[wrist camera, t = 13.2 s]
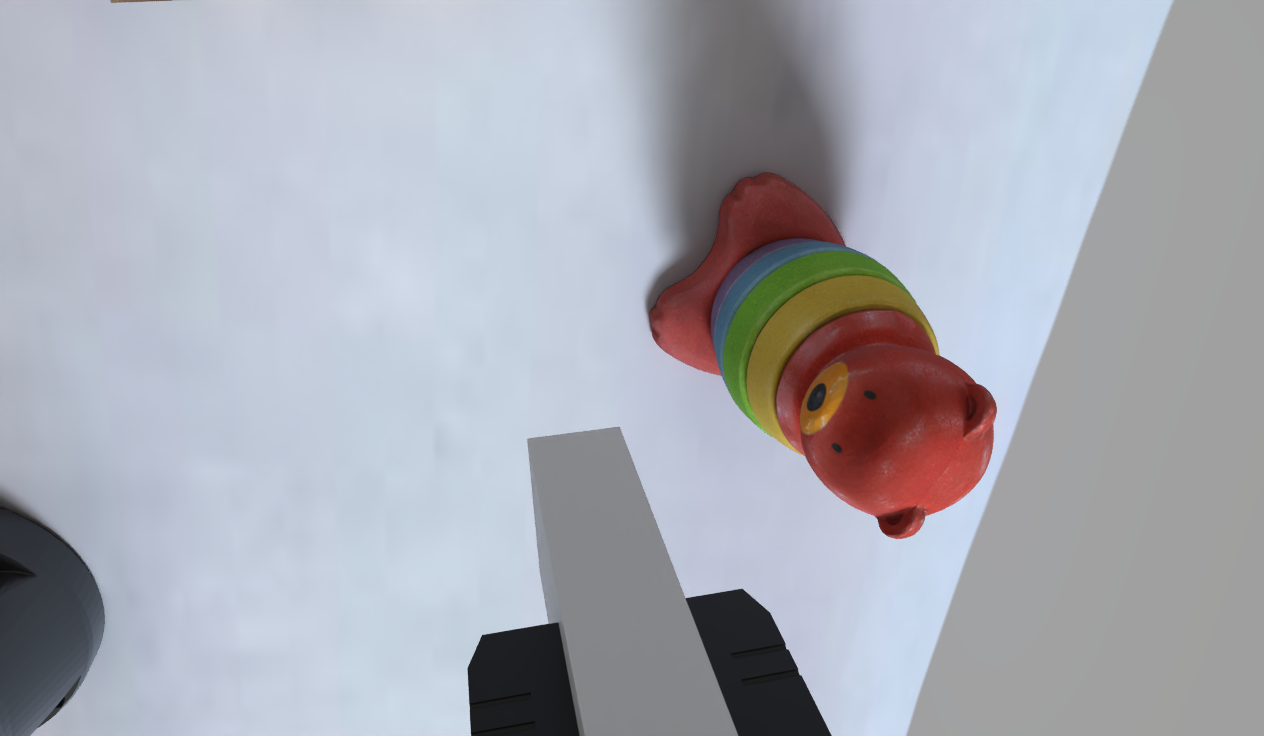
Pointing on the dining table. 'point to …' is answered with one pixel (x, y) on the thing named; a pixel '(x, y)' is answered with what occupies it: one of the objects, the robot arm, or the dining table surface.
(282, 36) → the dining table surface
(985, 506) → the dining table surface
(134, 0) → the frame
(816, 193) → the dining table surface
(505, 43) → the dining table surface
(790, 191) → the stacking bear
